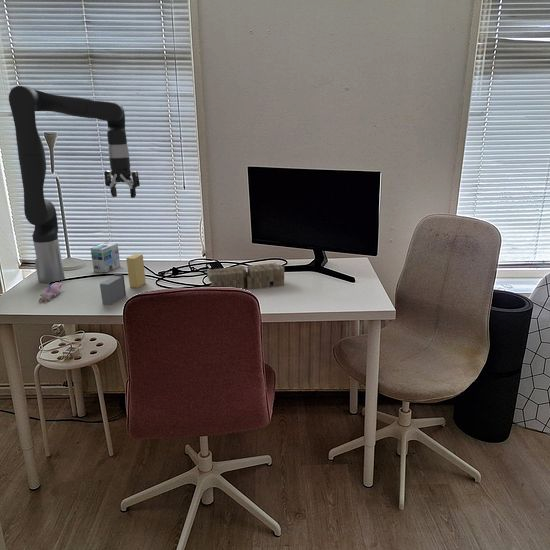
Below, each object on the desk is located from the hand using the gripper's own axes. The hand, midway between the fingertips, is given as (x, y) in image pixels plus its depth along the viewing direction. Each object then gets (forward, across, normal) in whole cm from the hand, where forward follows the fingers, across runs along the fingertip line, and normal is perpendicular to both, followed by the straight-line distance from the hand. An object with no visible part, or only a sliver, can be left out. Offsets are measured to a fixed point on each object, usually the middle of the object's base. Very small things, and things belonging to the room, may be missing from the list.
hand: (123, 197), depth 199 cm
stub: (+33, +9, -11) cm, 36 cm away
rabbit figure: (+34, -16, -30) cm, 48 cm away
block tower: (+33, +52, -2) cm, 62 cm away
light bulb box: (+33, -16, +4) cm, 37 cm away
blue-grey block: (+33, +9, -27) cm, 44 cm away
